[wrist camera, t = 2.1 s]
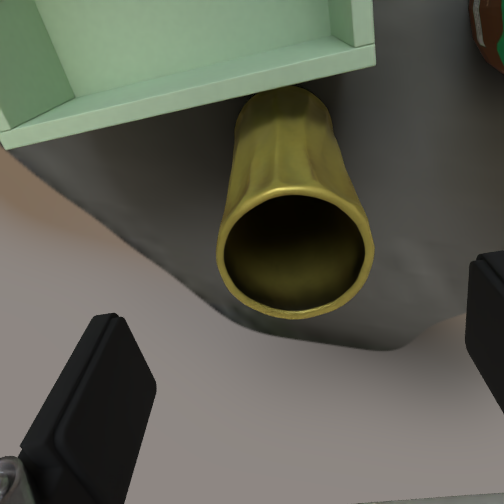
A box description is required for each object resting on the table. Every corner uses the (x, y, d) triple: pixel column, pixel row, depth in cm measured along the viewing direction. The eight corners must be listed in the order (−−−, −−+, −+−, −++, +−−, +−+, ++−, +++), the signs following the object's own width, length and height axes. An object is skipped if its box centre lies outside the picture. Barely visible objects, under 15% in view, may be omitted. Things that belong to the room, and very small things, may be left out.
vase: (318, 189, 27) (355, 341, 15) (228, 172, 27) (192, 315, 15) (344, 94, 24) (419, 192, 12) (242, 75, 24) (212, 154, 11)
